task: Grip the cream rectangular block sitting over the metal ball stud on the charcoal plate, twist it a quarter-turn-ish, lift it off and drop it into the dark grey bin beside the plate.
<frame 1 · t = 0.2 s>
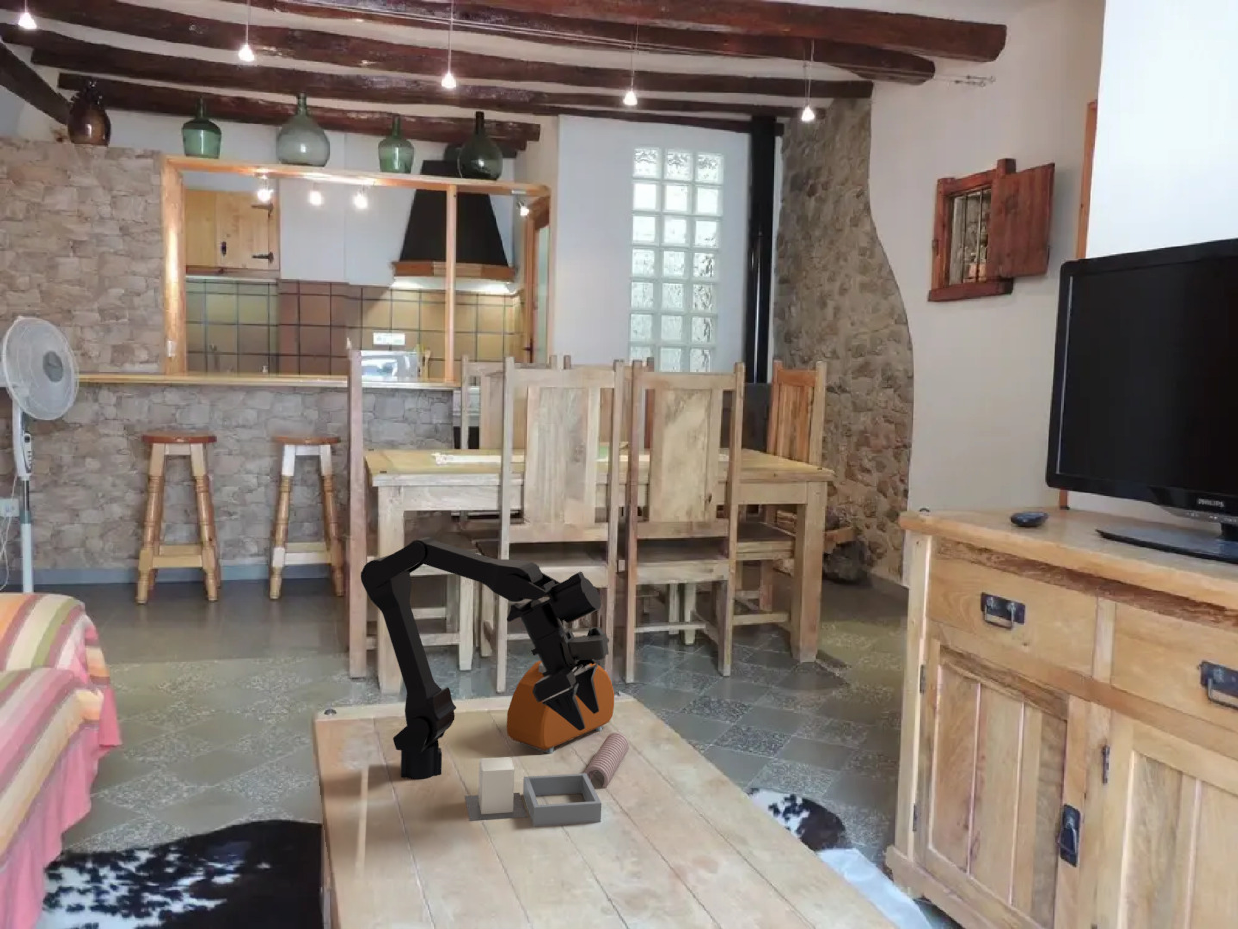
hand: (589, 720, 154), 15 cm above the table, fingers open, 9 cm apart
cream rectangular block: (495, 806, 152), point 1 cm above the table, touching stud plate
stud plate: (495, 812, 152), on the table
orange grey rounded block: (561, 738, 186), on the table
coil: (606, 774, 170), on the table
bin: (560, 813, 153), on the table
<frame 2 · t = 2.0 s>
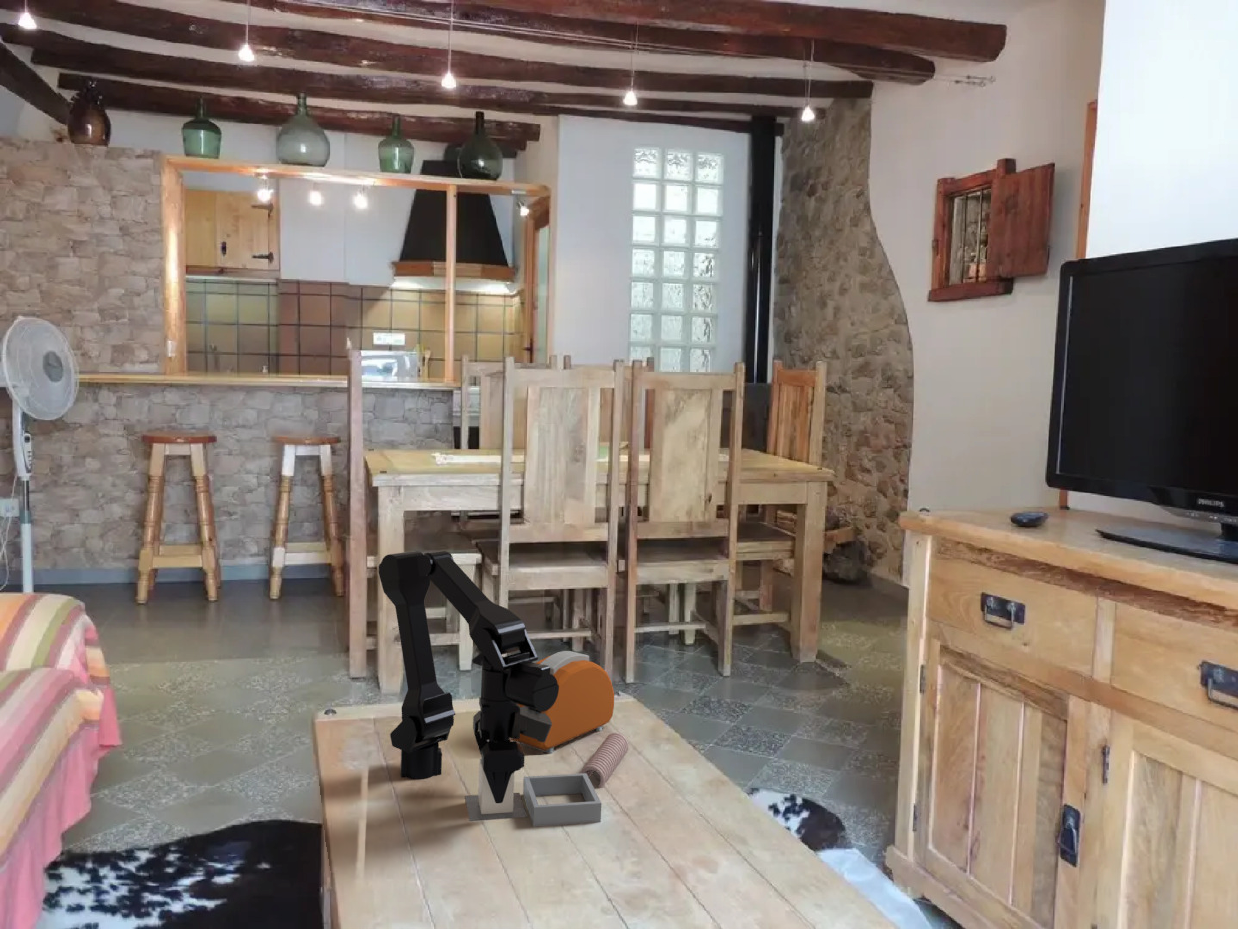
hand: (495, 790, 152), 4 cm above the table, fingers open, 9 cm apart
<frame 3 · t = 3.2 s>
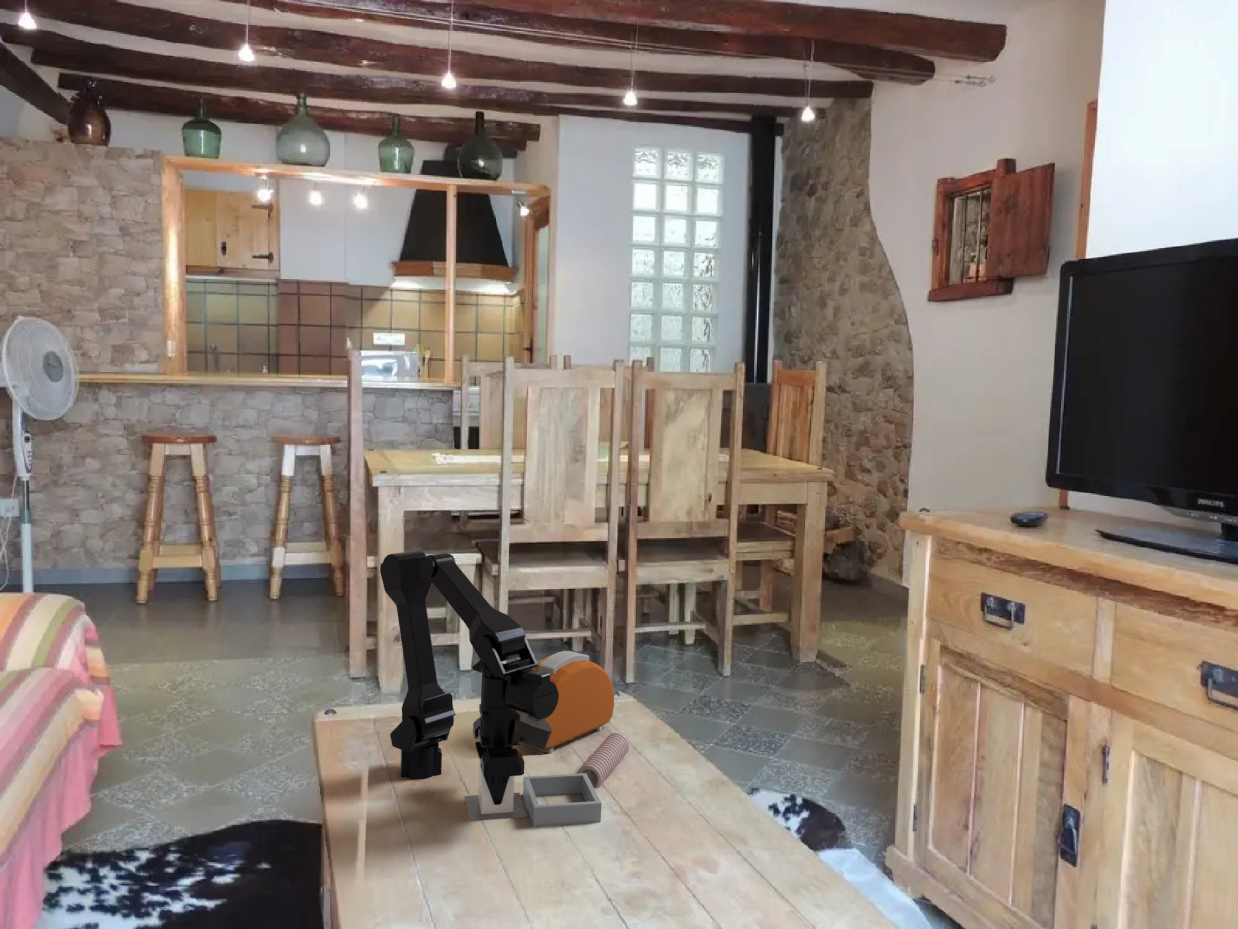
hand: (495, 797, 152), 3 cm above the table, fingers closed on cream rectangular block, 5 cm apart
cream rectangular block: (495, 806, 152), point 1 cm above the table, touching gripper, stud plate
everything else where it was.
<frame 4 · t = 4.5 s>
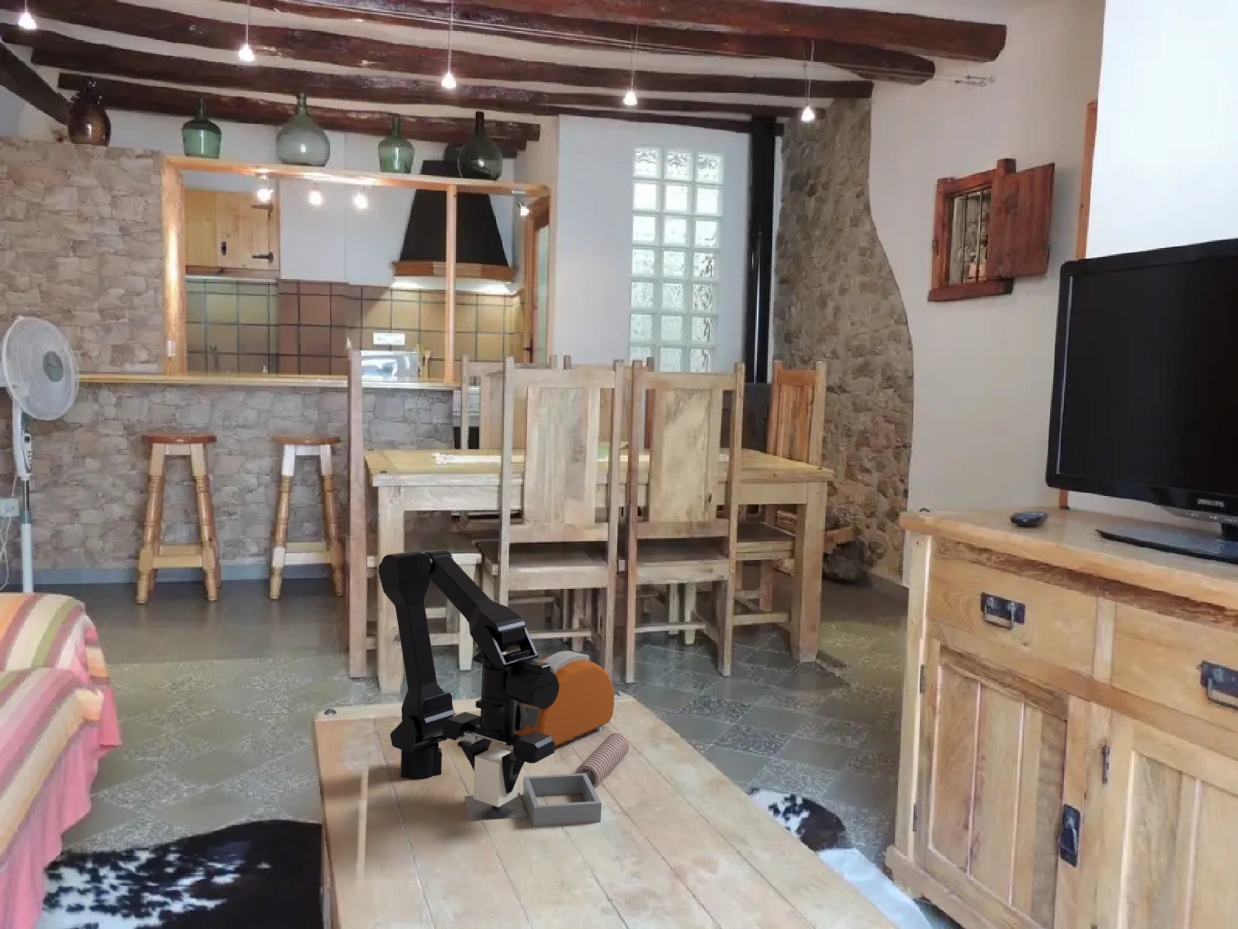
hand: (496, 788, 152), 4 cm above the table, fingers closed on cream rectangular block, 5 cm apart
cream rectangular block: (495, 797, 152), point 2 cm above the table, touching gripper
everything else where it was.
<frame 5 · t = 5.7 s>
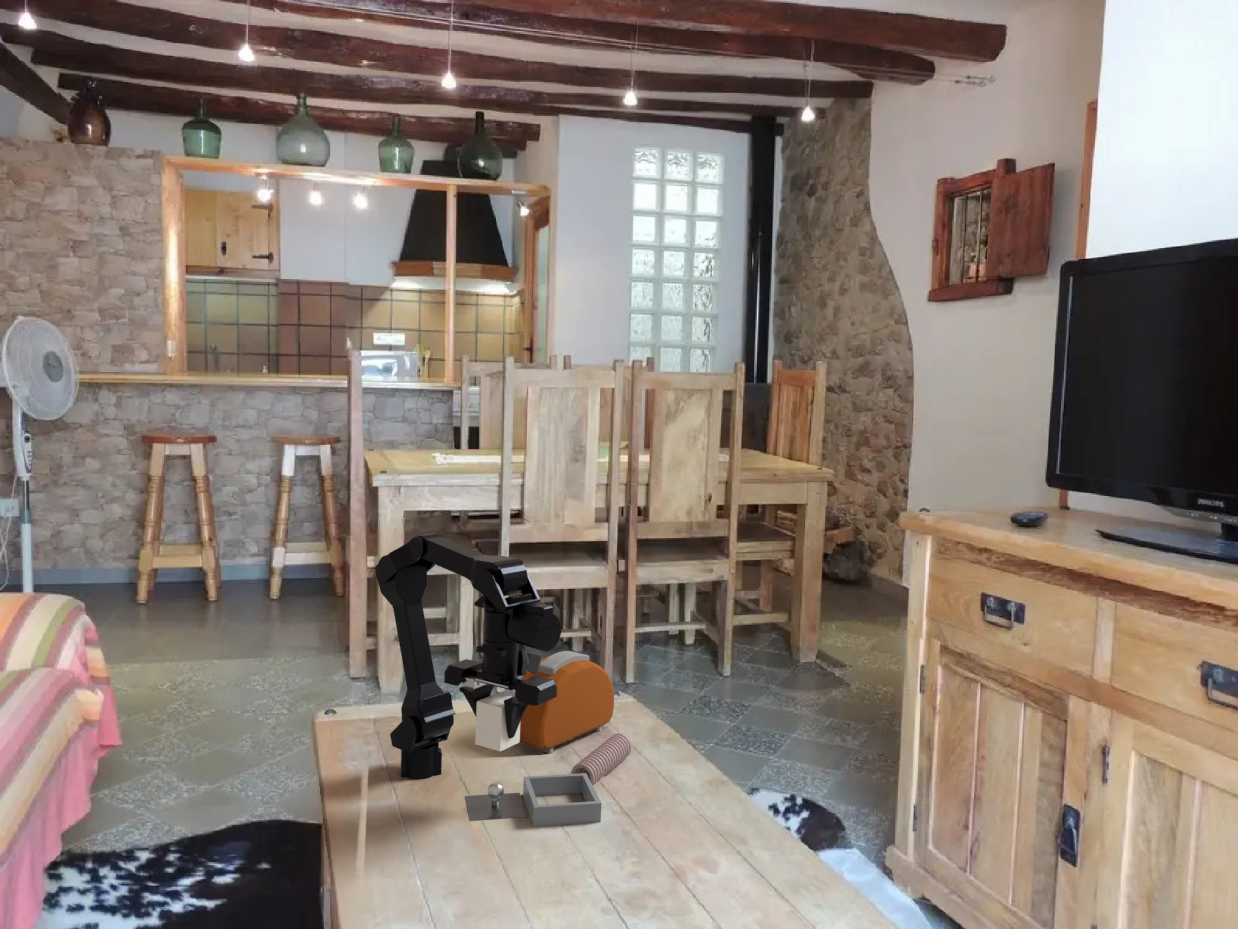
hand: (498, 734, 151), 13 cm above the table, fingers closed on cream rectangular block, 5 cm apart
cream rectangular block: (497, 743, 151), point 11 cm above the table, touching gripper
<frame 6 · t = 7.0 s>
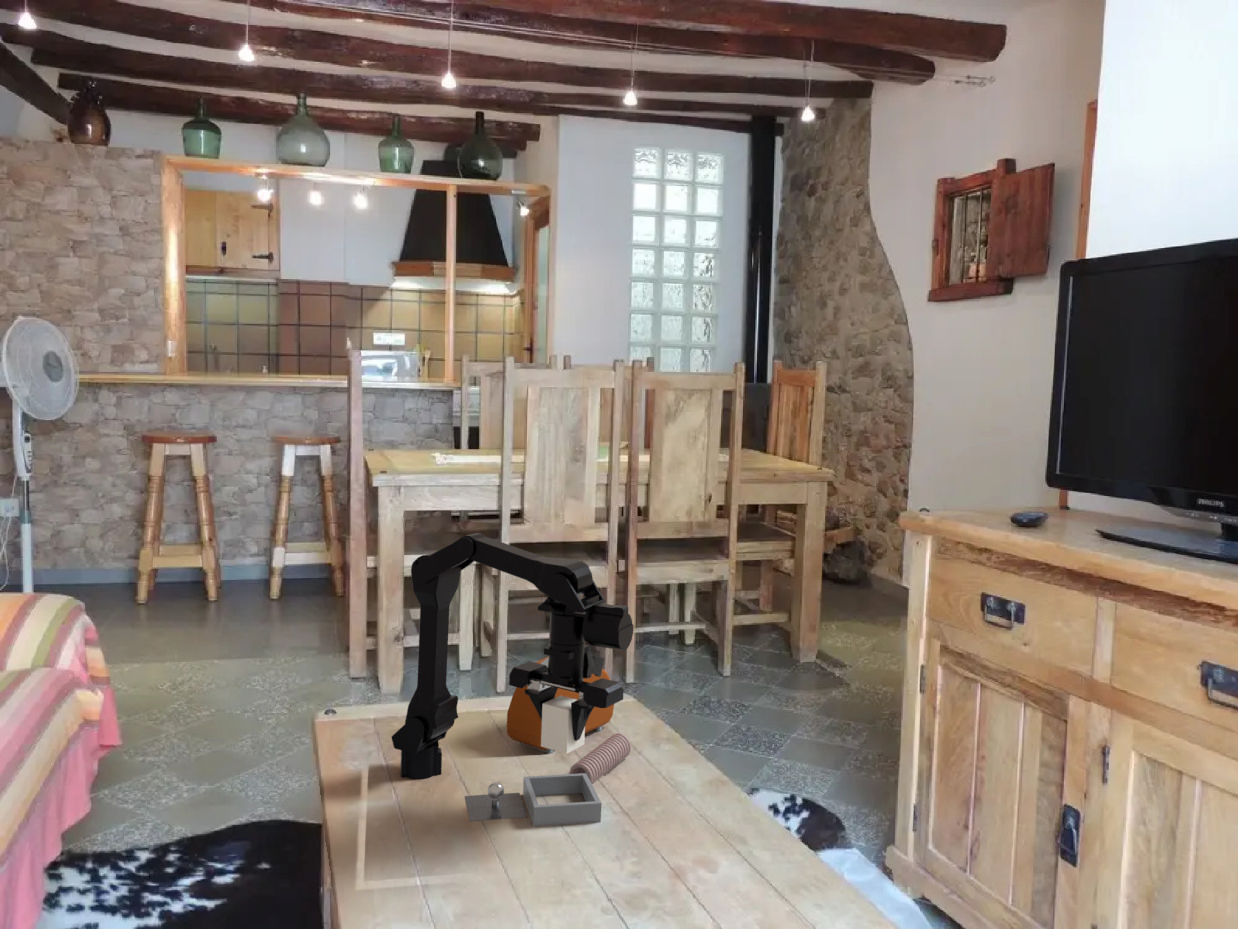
hand: (563, 736, 152), 13 cm above the table, fingers closed on cream rectangular block, 5 cm apart
cream rectangular block: (562, 745, 152), point 11 cm above the table, touching gripper
when the fingers open (4 cm above the table, at t = 9.3 s): cream rectangular block drops 2 cm, resting on bin.
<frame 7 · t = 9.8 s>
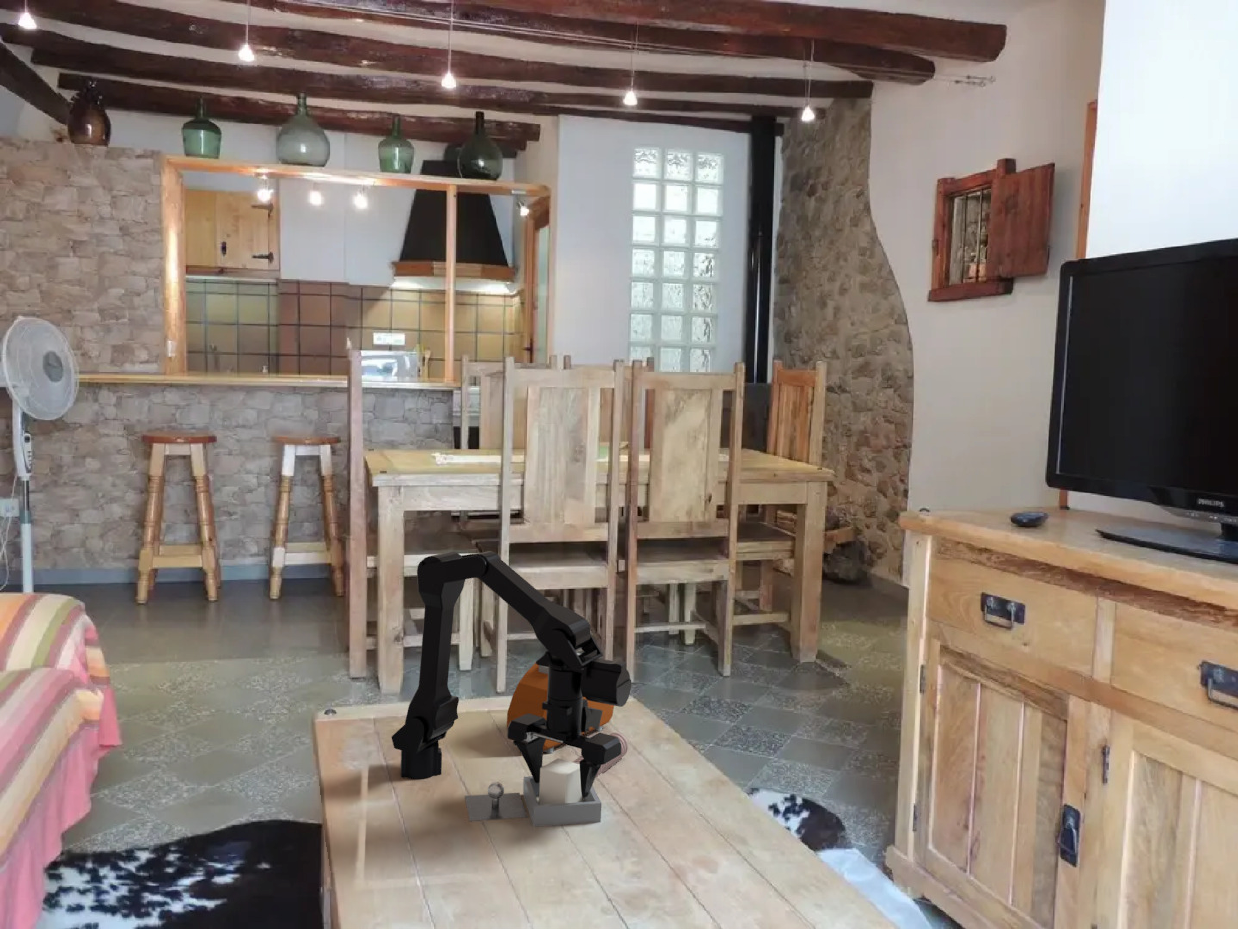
hand: (561, 789, 153), 4 cm above the table, fingers open, 9 cm apart
cream rectangular block: (560, 808, 153), point 1 cm above the table, touching bin
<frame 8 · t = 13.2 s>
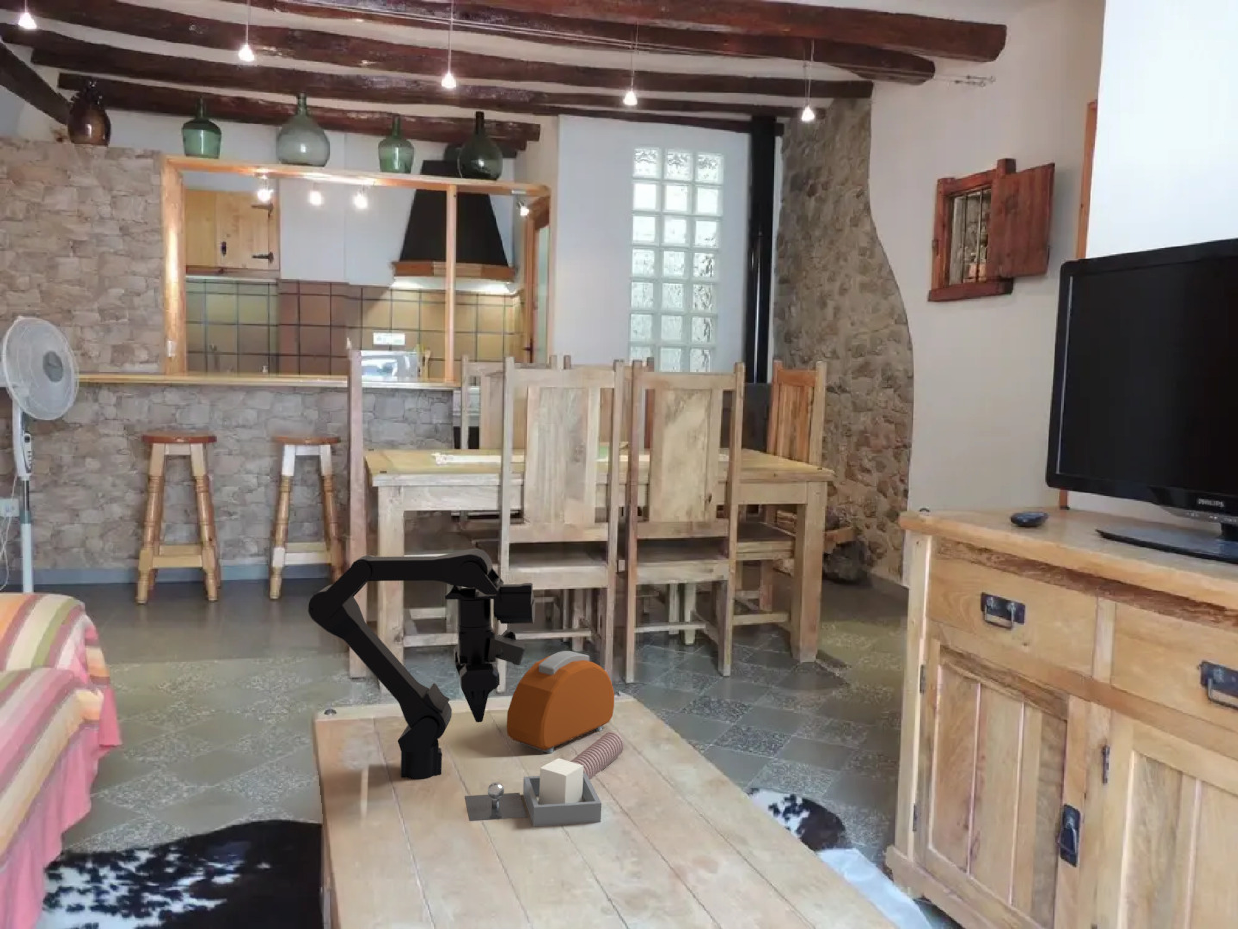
hand: (476, 712, 163), 12 cm above the table, fingers open, 9 cm apart
at the end: cream rectangular block inside the target area on the bin (0.1 cm from its centre), point 0.8 cm above the bin's base; cream rectangular block tilted 0°; the gripper is holding nothing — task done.
